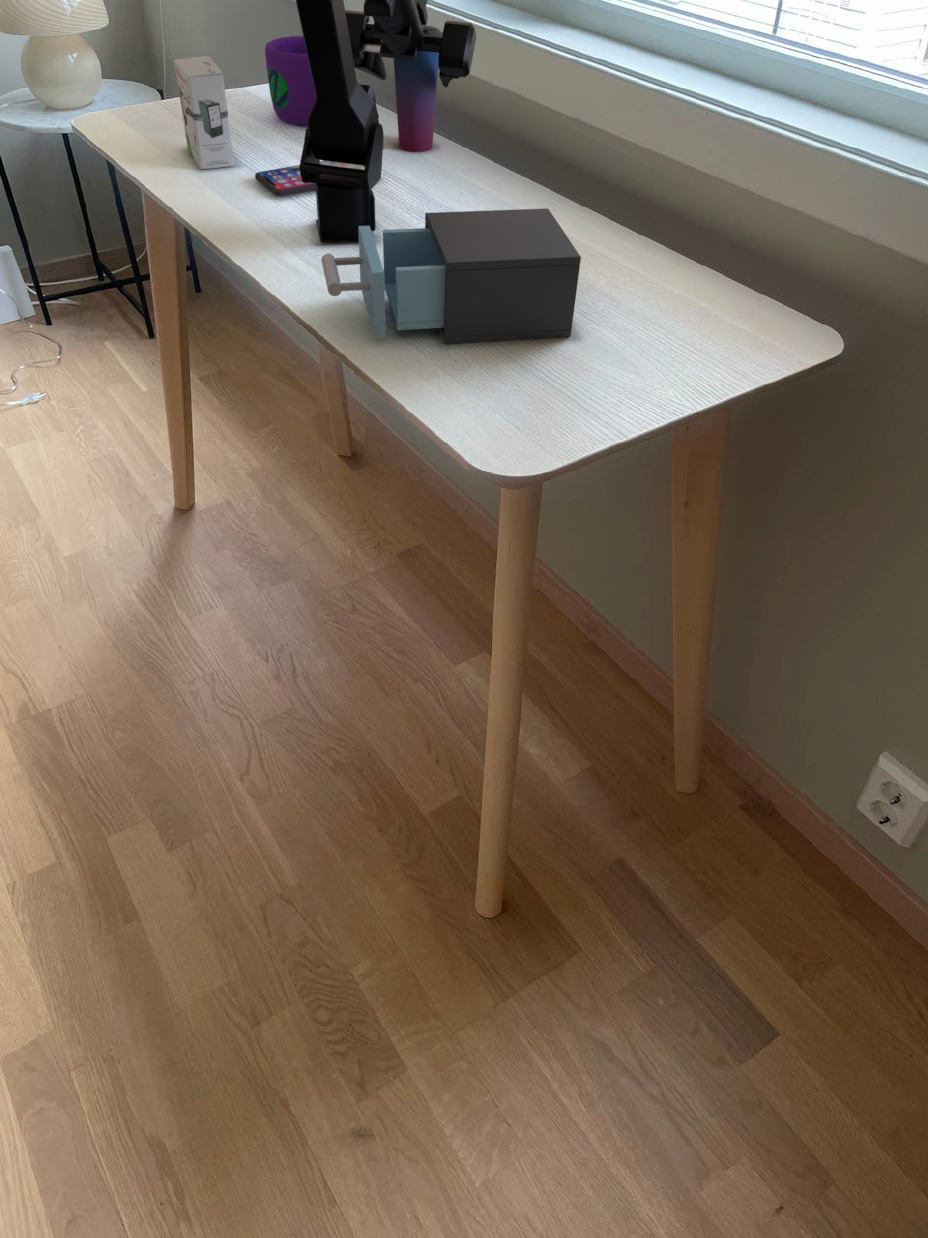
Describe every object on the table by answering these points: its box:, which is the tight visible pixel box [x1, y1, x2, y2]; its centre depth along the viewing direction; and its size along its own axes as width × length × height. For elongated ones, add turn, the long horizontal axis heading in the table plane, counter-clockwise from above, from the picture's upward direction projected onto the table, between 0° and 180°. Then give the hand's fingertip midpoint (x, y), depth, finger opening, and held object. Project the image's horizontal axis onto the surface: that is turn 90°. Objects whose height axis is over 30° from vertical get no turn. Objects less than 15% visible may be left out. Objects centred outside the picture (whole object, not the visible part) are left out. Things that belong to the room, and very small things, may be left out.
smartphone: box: [254, 160, 365, 198], centre depth 126 cm, size 8×1×15 cm
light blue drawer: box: [321, 226, 446, 338], centre depth 96 cm, size 17×11×7 cm
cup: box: [393, 24, 442, 153], centre depth 133 cm, size 7×7×15 cm
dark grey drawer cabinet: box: [424, 208, 582, 345], centre depth 98 cm, size 14×13×9 cm
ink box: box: [173, 55, 236, 170], centre depth 127 cm, size 9×5×12 cm, turn 25°
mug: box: [264, 35, 316, 126], centre depth 141 cm, size 17×11×10 cm, turn 43°
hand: (415, 80), depth 132 cm, fingers open, 9 cm apart
